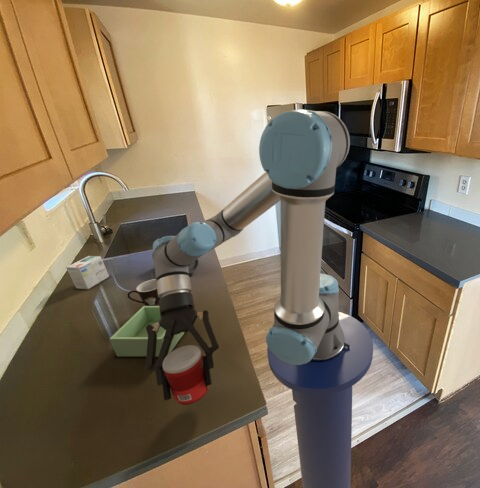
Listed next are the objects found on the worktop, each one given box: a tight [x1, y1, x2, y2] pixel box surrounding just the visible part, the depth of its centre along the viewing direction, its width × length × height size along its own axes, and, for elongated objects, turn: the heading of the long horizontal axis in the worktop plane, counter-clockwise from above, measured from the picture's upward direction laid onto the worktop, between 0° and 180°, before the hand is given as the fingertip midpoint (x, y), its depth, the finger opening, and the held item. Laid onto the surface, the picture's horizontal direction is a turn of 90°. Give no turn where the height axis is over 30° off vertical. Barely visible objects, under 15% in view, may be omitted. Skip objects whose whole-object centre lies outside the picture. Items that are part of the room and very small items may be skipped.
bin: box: [109, 305, 186, 357], centre depth 88 cm, size 16×16×7 cm
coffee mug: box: [127, 278, 160, 306], centre depth 102 cm, size 12×9×10 cm
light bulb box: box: [65, 255, 110, 290], centre depth 120 cm, size 11×7×11 cm, turn 171°
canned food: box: [162, 344, 210, 406], centre depth 64 cm, size 8×8×11 cm
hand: (189, 391), depth 62 cm, fingers closed on canned food, 8 cm apart
